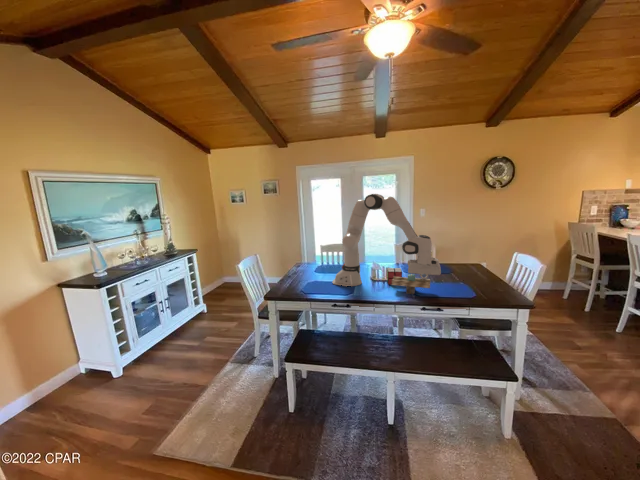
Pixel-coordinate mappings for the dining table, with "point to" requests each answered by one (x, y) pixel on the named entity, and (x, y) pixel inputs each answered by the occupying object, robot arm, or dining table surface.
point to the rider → (411, 277)
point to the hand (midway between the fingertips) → (424, 280)
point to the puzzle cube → (393, 274)
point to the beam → (410, 283)
